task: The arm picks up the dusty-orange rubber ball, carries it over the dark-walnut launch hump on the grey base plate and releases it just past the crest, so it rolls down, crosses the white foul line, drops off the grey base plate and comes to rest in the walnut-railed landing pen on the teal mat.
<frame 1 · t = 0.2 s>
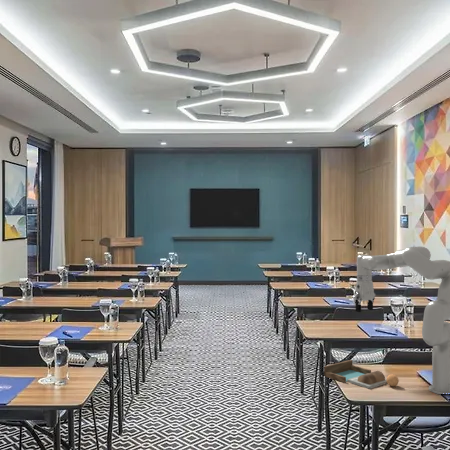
hand: (364, 310, 267), 31 cm above the table, fingers open, 9 cm apart
landing pen: (347, 375, 255), on the table
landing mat: (348, 375, 255), on the table
launch hump: (371, 382, 243), resting on grey base plate
grey base plate: (368, 382, 244), on the table
ball: (392, 386, 238), on the table
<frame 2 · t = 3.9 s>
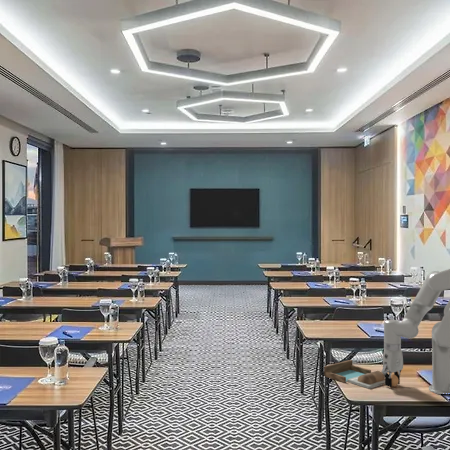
hand: (392, 384, 238), 1 cm above the table, fingers closed on ball, 5 cm apart
ball: (392, 386, 238), on the table, touching gripper
when the fingers open (7 cm above the table, at t = 8.1 s): ball drops 6 cm, resting on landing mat.
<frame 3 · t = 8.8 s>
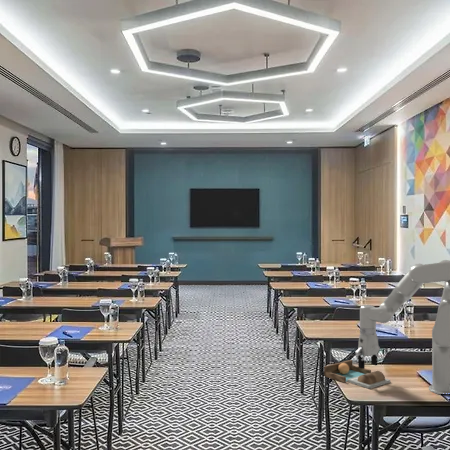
hand: (367, 366, 245), 8 cm above the table, fingers open, 9 cm apart
ball: (342, 373, 258), resting on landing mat, tilted 15°
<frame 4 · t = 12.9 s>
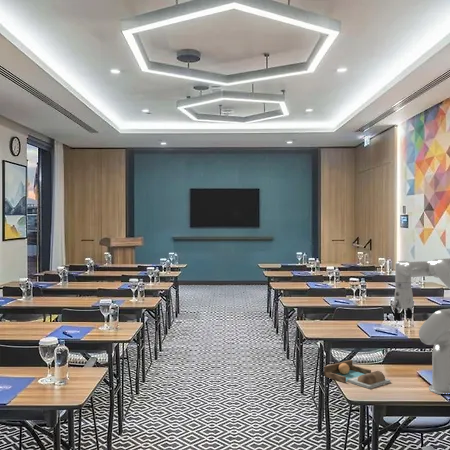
hand: (403, 319, 255), 28 cm above the table, fingers open, 9 cm apart
nothing on the table moved.
at the end: ball inside the target area (3.3 cm from its centre), resting on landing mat; the gripper is holding nothing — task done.
